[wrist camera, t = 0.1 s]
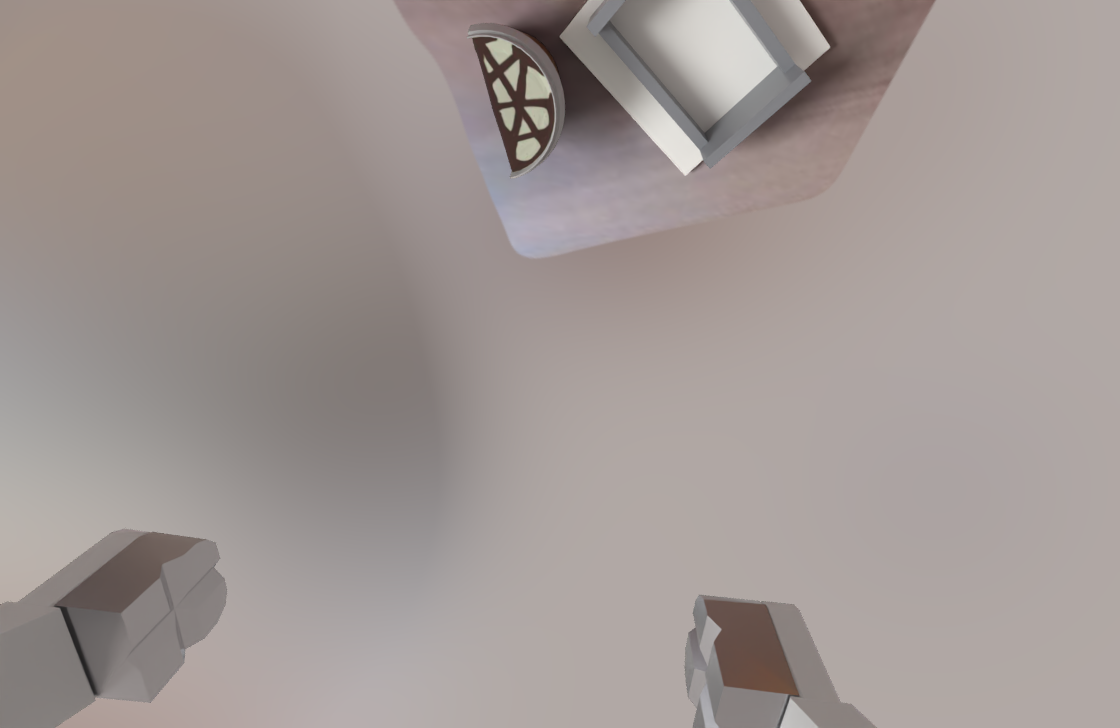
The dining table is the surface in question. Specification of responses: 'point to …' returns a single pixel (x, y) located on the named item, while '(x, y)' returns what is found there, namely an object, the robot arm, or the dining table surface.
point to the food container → (521, 93)
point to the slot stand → (697, 66)
